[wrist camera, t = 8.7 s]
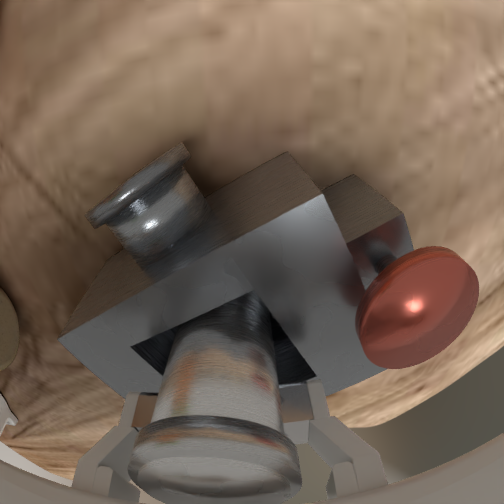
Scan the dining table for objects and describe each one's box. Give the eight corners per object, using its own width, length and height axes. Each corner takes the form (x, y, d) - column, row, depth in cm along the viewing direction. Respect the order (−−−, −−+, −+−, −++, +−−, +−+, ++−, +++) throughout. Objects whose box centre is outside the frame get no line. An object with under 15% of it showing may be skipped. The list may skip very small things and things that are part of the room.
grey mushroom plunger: (215, 350, 16) (198, 521, 7) (164, 287, 15) (92, 466, 6) (289, 314, 16) (327, 498, 6) (243, 242, 14) (241, 438, 5)
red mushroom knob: (325, 261, 17) (379, 385, 10) (292, 197, 16) (343, 308, 8) (390, 227, 17) (478, 327, 9) (365, 160, 15) (475, 233, 7)
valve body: (217, 376, 22) (213, 456, 16) (76, 219, 16) (9, 287, 9) (365, 313, 20) (402, 393, 13) (256, 97, 13) (268, 94, 7)
